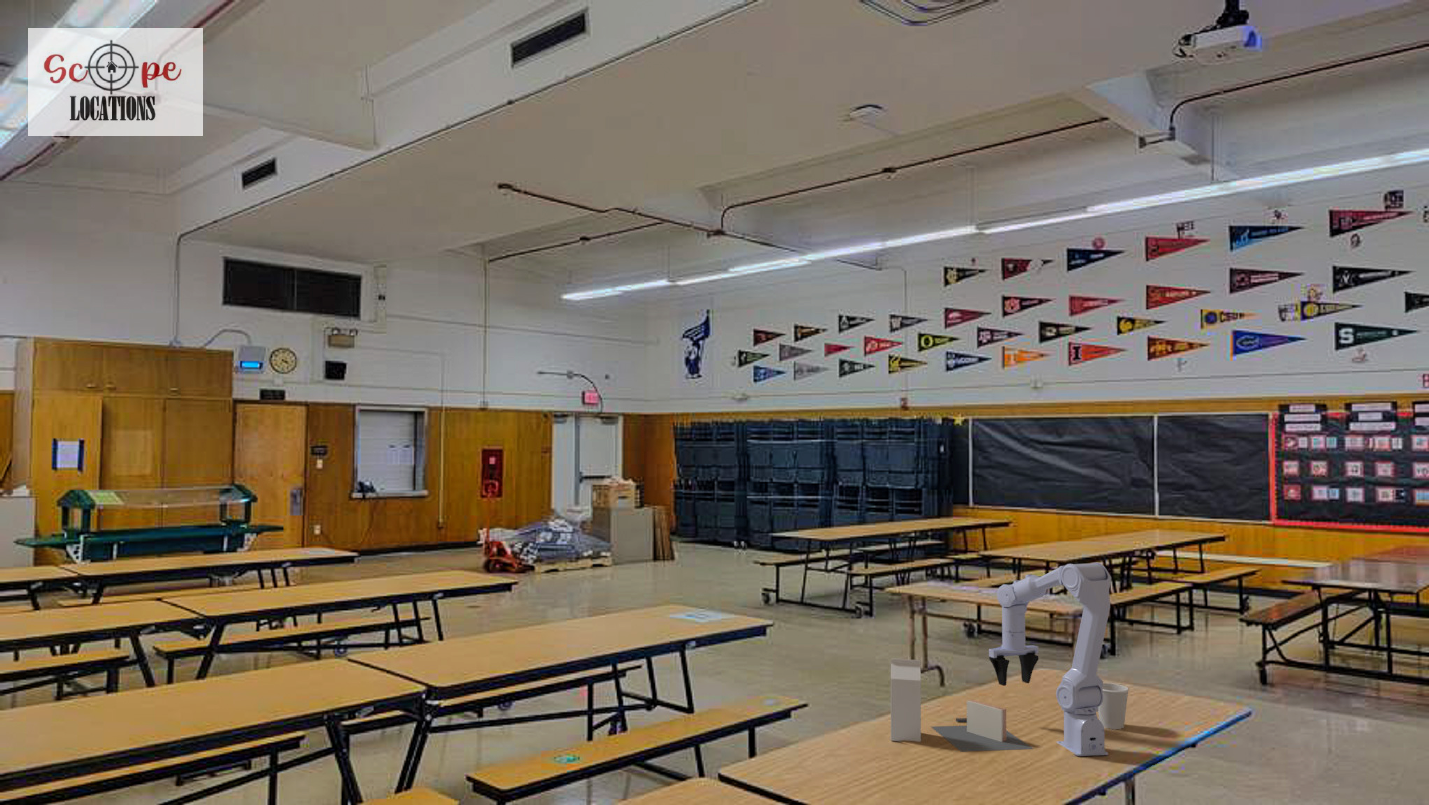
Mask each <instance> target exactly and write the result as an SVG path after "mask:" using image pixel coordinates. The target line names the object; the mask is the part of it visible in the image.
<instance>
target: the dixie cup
mask: <svg viewBox="0 0 1429 805" xmlns="http://www.w3.org/2000/svg"><path fill="white" fill-rule="evenodd" d="M1102 689H1103V696H1104V698H1103V702H1102V704H1101V705H1100V706H1099V707H1098V711H1097V712H1098V719H1099V720H1100V721H1101V722H1102V724H1103V726H1104V727H1105V728H1104V729H1108V728H1110V730H1116V729H1119V730H1122V729H1121V728H1123V729H1124V728H1125V722H1126V713H1127V712H1126V711H1127V706H1128V705H1127V704H1128V703H1127V702H1128V696H1129V691H1130V689H1129V687H1127V686H1125V685H1122V684H1118V683H1112V682H1103V687H1102Z"/></svg>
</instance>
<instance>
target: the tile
mask: <svg viewBox="0 0 1429 805" xmlns="http://www.w3.org/2000/svg"><path fill="white" fill-rule="evenodd" d="M966 718H967V722H966V726H967V732H970V733H974V734H977V735H980V736H984V737H987V738H990V739H994V740H997V741H1000V742H1003V741H1006V730H1007V708H1004V707H1000V706H997V705H993V704H989V703H986V702H982V701H978V700H975V699H969V700H966Z"/></svg>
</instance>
